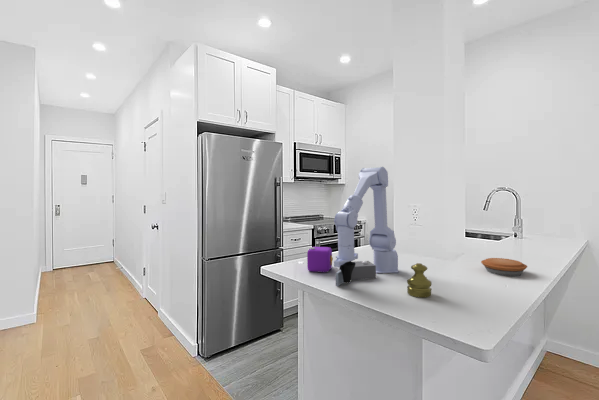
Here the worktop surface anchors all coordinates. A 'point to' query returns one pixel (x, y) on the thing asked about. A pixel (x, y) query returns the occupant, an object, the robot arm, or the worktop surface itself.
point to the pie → (504, 266)
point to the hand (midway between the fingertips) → (347, 282)
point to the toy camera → (319, 259)
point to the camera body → (363, 270)
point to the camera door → (339, 278)
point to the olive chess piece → (419, 282)
